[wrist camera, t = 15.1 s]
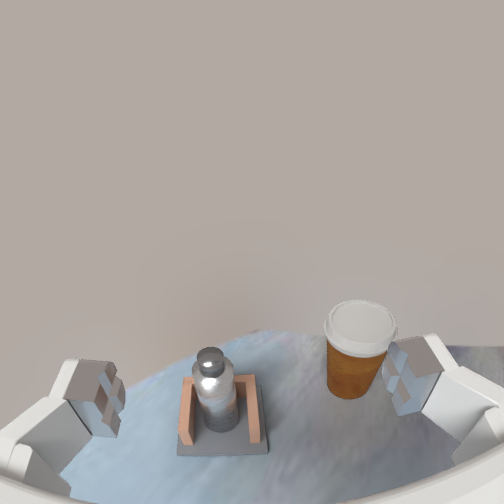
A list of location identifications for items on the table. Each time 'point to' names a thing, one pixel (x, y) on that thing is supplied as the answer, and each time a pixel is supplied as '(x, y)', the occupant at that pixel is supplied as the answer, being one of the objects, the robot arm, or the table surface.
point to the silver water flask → (216, 389)
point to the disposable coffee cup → (356, 345)
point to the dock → (228, 443)
